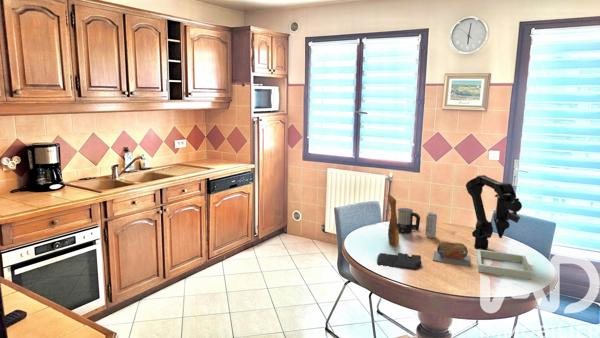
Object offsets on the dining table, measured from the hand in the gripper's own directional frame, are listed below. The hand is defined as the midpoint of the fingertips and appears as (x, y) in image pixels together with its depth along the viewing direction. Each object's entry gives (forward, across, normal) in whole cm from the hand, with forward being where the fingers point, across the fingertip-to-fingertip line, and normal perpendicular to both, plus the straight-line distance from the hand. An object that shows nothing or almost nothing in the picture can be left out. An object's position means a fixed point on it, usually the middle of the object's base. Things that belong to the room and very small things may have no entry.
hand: (499, 235), depth 217 cm
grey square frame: (+12, -14, -1) cm, 18 cm away
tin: (+12, -13, +23) cm, 29 cm away
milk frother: (+12, +26, +50) cm, 58 cm away
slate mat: (+12, -13, +23) cm, 29 cm away
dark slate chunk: (+13, -29, +48) cm, 58 cm away
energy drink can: (+12, +20, +36) cm, 43 cm away
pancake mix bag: (+12, 0, +56) cm, 57 cm away
